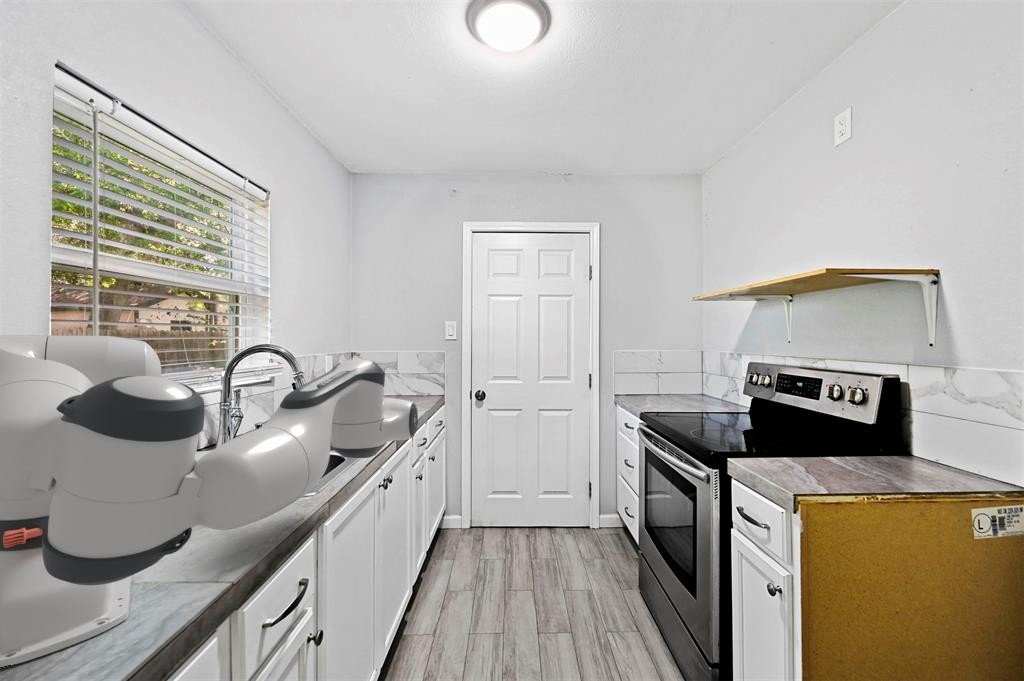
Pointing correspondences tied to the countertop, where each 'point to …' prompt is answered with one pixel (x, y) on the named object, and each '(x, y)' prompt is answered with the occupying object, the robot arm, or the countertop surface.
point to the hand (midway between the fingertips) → (289, 415)
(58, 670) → the countertop surface
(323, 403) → the robot arm
